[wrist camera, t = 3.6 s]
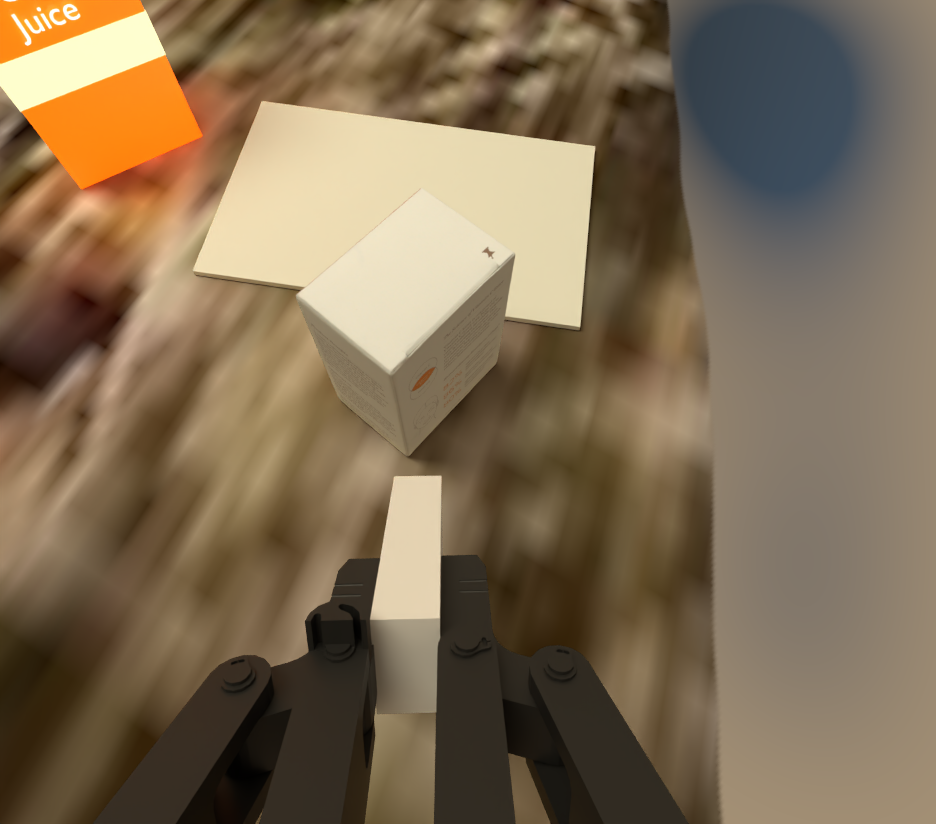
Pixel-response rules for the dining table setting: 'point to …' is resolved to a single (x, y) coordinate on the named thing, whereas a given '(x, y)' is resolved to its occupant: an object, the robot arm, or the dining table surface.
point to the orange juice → (93, 83)
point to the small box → (411, 317)
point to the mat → (401, 200)
